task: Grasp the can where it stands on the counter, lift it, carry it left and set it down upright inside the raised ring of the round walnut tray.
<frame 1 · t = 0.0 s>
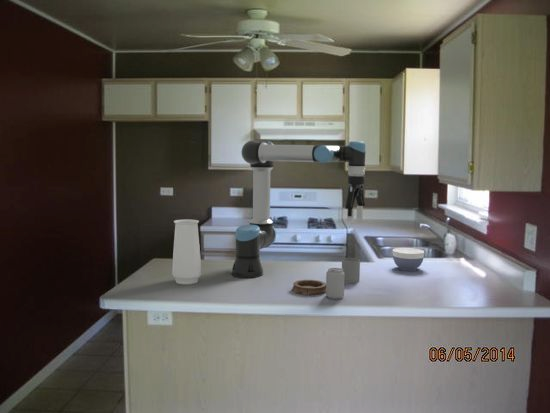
hand: (354, 221, 243), 28 cm above the counter, fingers open, 13 cm apart
cup: (350, 281, 246), on the counter
tray: (309, 290, 229), on the counter
vase: (186, 282, 241), on the counter
can: (334, 297, 219), on the counter
bowl: (407, 269, 272), on the counter
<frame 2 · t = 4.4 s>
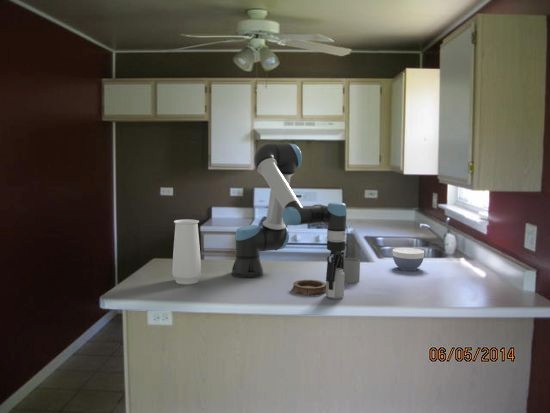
hand: (334, 294, 219), 1 cm above the counter, fingers closed on can, 7 cm apart
can: (334, 297, 219), on the counter, touching gripper
everything else where it was.
when the fingers open (5 cm above the counter, at t = 9.5 s): can drops 3 cm, resting on tray.
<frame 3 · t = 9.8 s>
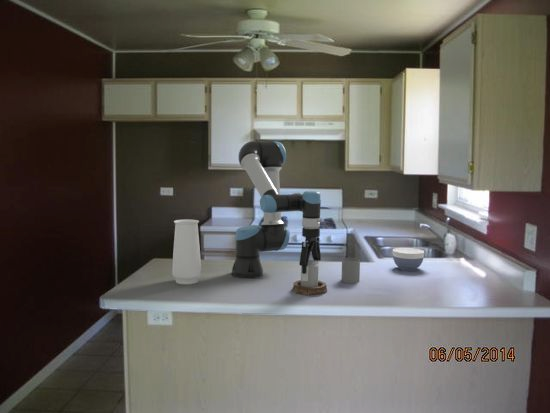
hand: (310, 277, 228), 6 cm above the counter, fingers open, 10 cm apart
can: (309, 288, 228), point 1 cm above the counter, touching tray
everything else where it was.
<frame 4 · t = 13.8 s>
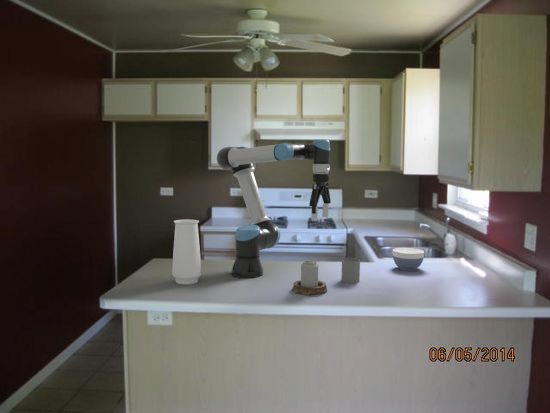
hand: (319, 218, 245), 29 cm above the counter, fingers open, 13 cm apart
nothing on the counter moved.
at the end: can 0.4 cm from the tray (horizontally); can tilted 0°; the gripper is holding nothing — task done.
